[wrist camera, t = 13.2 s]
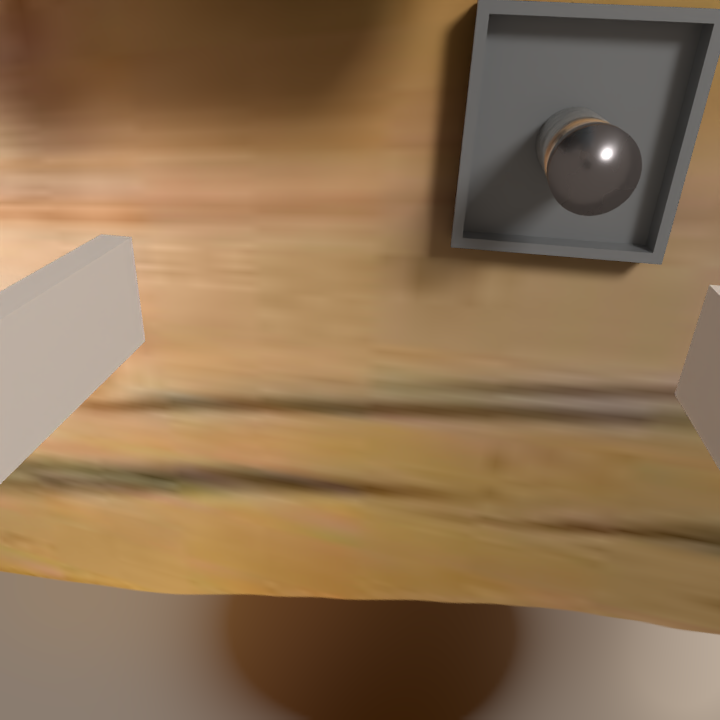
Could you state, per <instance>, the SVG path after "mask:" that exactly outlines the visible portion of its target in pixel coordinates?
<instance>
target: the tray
mask: <svg viewBox="0 0 720 720" xmlns="http://www.w3.org/2000/svg"><path fill="white" fill-rule="evenodd" d="M719 54H720V9H706V8H682V7H658V6H634V5H610V4H586V3H561V2H537V1H513V0H478V1H477V10H476V19H475V28H474V37H473V46H472V55H471V64H470V73H469V82H468V91H467V100H466V109H465V118H464V127H463V136H462V145H461V154H460V163H459V172H458V181H457V190H456V199H455V208H454V217H453V226H452V235H451V247H454V248H466V249H478V250H491V251H503V252H515V253H527V254H539V255H552V256H564V257H576V258H588V259H601V260H613V261H625V262H637V263H649V264H662V261H663V257H664V254H665V250H666V246H667V243H668V239H669V235H670V232H671V228H672V225H673V221H674V217H675V214H676V210H677V206H678V203H679V199H680V196H681V192H682V188H683V185H684V181H685V177H686V174H687V170H688V167H689V163H690V159H691V156H692V152H693V149H694V145H695V141H696V138H697V134H698V130H699V127H700V123H701V120H702V116H703V112H704V109H705V105H706V101H707V98H708V94H709V91H710V87H711V83H712V80H713V76H714V72H715V69H716V65H717V62H718V58H719ZM569 107H584V108H587V109H590V110H592V111H594V112H595V113H597V114H598V115H599V116H601V117H602V118H603V119H605V120H606V121H608V122H609V123H610V124H612V125H615V126H617V127H619V128H620V129H622V130H623V131H625V132H626V133H628V134H629V135H630V136H631V137H632V138H633V139H634V141H635V142H636V144H637V146H638V147H639V150H640V153H641V157H642V172H641V176H640V179H639V182H638V184H637V186H636V188H635V190H634V191H633V193H632V194H631V195H630V197H629V198H628V199H627V200H626V201H625V202H624V203H623V204H621V205H620V206H619V207H617V208H615V209H614V210H612V211H609V212H607V213H604V214H601V215H596V216H583V215H578V214H575V213H572V212H570V211H568V210H566V209H565V208H563V207H562V206H561V205H560V204H559V203H558V202H557V201H556V199H555V198H554V196H553V194H552V192H551V190H550V188H549V185H548V181H547V177H546V175H545V173H544V171H543V169H542V166H541V164H540V162H539V160H538V157H537V153H536V142H537V137H538V134H539V132H540V130H541V128H542V126H543V125H544V123H545V122H546V121H547V120H548V119H549V118H550V117H551V116H552V115H554V114H555V113H556V112H558V111H560V110H563V109H565V108H569Z"/></svg>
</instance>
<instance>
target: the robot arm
mask: <svg viewBox="0 0 720 720" xmlns="http://www.w3.org/2000/svg"><path fill="white" fill-rule="evenodd" d="M144 342H145V336H144V328H143V321H142V313H141V306H140V298H139V290H138V283H137V275H136V268H135V260H134V253H133V245H132V237H126V236H114V235H102V234H101V235H99V236H97V237H96V238H94V239H92V240H90V241H88V242H87V243H85V244H83V245H81V246H80V247H78V248H76V249H74V250H73V251H71V252H69V253H67V254H66V255H64V256H62V257H60V258H59V259H57V260H55V261H53V262H51V263H50V264H48V265H46V266H44V267H43V268H41V269H39V270H37V271H36V272H34V273H32V274H30V275H29V276H27V277H25V278H23V279H22V280H20V281H18V282H16V283H14V284H13V285H11V286H9V287H7V288H6V289H4V290H2V291H0V484H1V483H2V482H3V481H4V480H5V479H6V478H7V477H8V476H9V475H10V474H11V473H12V472H13V471H14V470H15V469H16V468H17V467H18V466H19V465H20V464H21V463H22V462H23V461H24V460H25V459H26V458H27V457H28V456H29V455H30V454H31V453H32V452H33V451H34V450H35V449H36V448H37V447H38V446H39V445H40V444H41V443H42V442H43V441H44V440H45V439H46V438H47V437H49V436H50V435H51V434H52V433H53V432H54V431H55V430H56V429H57V428H58V427H59V426H60V425H61V424H62V423H63V422H64V421H65V420H66V419H67V418H68V417H69V416H70V415H71V414H72V413H73V412H74V411H75V410H76V409H77V408H78V407H79V406H80V405H81V404H82V403H83V402H84V401H85V400H86V399H87V398H88V397H89V396H90V395H91V394H92V393H93V392H94V391H95V390H96V389H97V388H98V387H99V386H100V385H101V384H102V383H103V382H104V381H105V380H106V379H107V378H108V377H109V376H110V375H111V374H112V373H113V372H114V371H115V370H116V369H117V368H118V367H119V366H120V365H121V364H122V363H123V362H124V361H126V360H127V359H128V358H129V357H130V356H131V355H132V354H133V353H134V352H135V351H136V350H137V349H138V348H139V347H140V346H141V345H142V344H143V343H144ZM675 396H676V397H677V399H678V401H679V402H680V404H681V406H682V408H683V409H684V411H685V413H686V414H687V416H688V418H689V419H690V421H691V423H692V424H693V426H694V428H695V429H696V431H697V433H698V434H699V436H700V438H701V440H702V441H703V443H704V445H705V446H706V448H707V450H708V451H709V453H710V455H711V456H712V458H713V460H714V461H715V463H716V465H717V466H718V468H719V470H720V286H716V285H709V288H708V291H707V294H706V297H705V300H704V303H703V307H702V310H701V313H700V316H699V319H698V322H697V326H696V329H695V332H694V335H693V338H692V341H691V345H690V348H689V351H688V354H687V357H686V360H685V363H684V367H683V370H682V373H681V376H680V379H679V382H678V386H677V389H676V392H675Z"/></svg>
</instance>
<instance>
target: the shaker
mask: <svg viewBox="0 0 720 720" xmlns="http://www.w3.org/2000/svg"><path fill="white" fill-rule="evenodd" d="M536 153H537V157H538V160H539V162H540V164H541V166H542V169H543V171H544V173H545V175H546V177H547V181H548V185H549V188H550V190H551V192H552V194H553V196H554V198H555V199H556V201H557V202H558V203H559V204H560V205H561V206H562V207H563V208H565V209H566V210H568V211H570V212H572V213H575V214H578V215H583V216H596V215H601V214H604V213H607V212H609V211H612V210H614V209H615V208H617V207H619V206H620V205H621V204H623V203H624V202H625V201H626V200H627V199H628V198H629V197H630V195H631V194H632V193H633V191H634V190H635V188H636V186H637V184H638V182H639V179H640V176H641V172H642V157H641V153H640V150H639V147H638V146H637V144H636V142H635V141H634V139H633V138H632V137H631V136H630V135H629V134H628V133H626V132H625V131H623V130H622V129H620V128H619V127H617V126H615V125H612V124H610V123H609V122H608V121H606V120H605V119H603V118H602V117H601V116H599V115H598V114H597V113H595V112H594V111H592V110H590V109H587V108H584V107H569V108H565V109H563V110H560V111H558V112H556V113H555V114H554V115H552V116H551V117H550V118H549V119H548V120H547V121H546V122H545V123H544V125H543V126H542V128H541V130H540V132H539V134H538V137H537V142H536Z"/></svg>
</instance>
